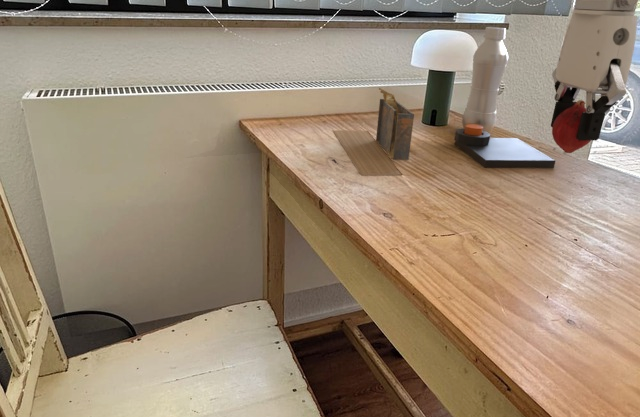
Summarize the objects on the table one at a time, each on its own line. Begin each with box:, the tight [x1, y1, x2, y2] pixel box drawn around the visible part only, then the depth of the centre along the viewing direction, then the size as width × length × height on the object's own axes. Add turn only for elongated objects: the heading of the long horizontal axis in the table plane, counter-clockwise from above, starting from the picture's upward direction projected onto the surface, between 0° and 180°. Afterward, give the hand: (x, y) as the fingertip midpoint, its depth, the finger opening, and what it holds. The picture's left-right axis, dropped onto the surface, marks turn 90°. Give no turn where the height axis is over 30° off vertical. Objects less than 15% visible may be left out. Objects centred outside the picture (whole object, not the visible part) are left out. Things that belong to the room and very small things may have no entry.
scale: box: [453, 127, 556, 169], centre depth 85 cm, size 13×14×3 cm
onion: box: [551, 99, 592, 154], centre depth 73 cm, size 6×6×8 cm
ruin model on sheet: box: [332, 87, 415, 176], centre depth 84 cm, size 25×16×10 cm, turn 8°
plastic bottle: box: [461, 26, 509, 134], centre depth 95 cm, size 6×7×20 cm
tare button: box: [464, 124, 483, 136], centre depth 87 cm, size 3×3×2 cm
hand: (573, 132), depth 73 cm, fingers closed on onion, 5 cm apart
